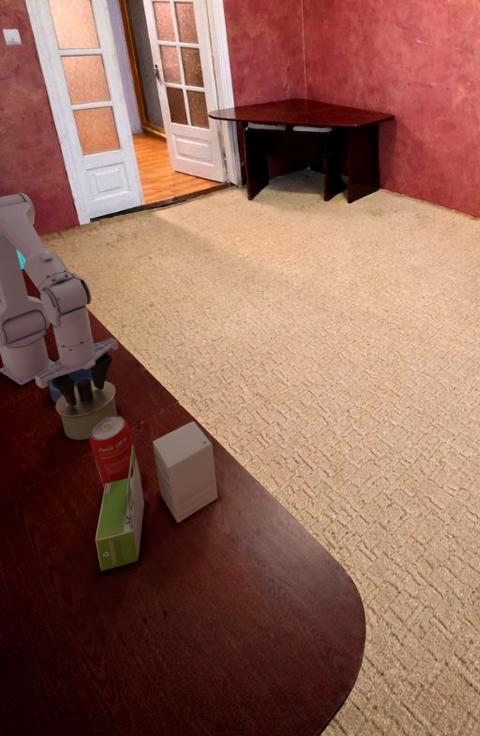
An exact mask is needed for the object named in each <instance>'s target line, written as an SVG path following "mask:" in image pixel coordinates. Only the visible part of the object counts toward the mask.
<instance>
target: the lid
mask: <svg viewBox="0 0 480 736" xmlns="http://www.w3.org/2000/svg"><path fill="white" fill-rule="evenodd" d="M116 391H117V390H116V387H115V385H114V384H113V383H111V382H109V381H106V380H105V382H104V389H102V390H100V389H98V388H96V387H95V386H94V383H93V381H90V380H89V379H84V380H81V381H79V382H78V383H77V384H76V386H75V387H74V392H75V397H76V401H77V404H76V405H75V406H71V405H70V404H68V403H67V401H66V399H65V398H64V396H63V395H62V396H61V397H60V398H59V399H58V401H57V403H56V402H55V410H56V412H57V414H58V415H59V416H60V417H61V416H63V417H67V418H79V417H84V416H88V415H91V414H93V413H96V412H98V411H100V410H101V409H103V408H104V407H106V406H107V405H108V404H109V403H110V402H111V401H112V400H113V398H114V399H115V397H116Z"/></svg>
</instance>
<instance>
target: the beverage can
mask: <svg viewBox="0 0 480 736" xmlns="http://www.w3.org/2000/svg"><path fill="white" fill-rule="evenodd" d="M88 441H89V444H90V448H91V451H92V454H93V458H94V461H95V464H96V467H97V471H98V475H99V477H100V479H101V483H102V486H103V490H104V489H105V484H106V483H110V482H115V481H119V480H123V479H128V476H129V468H130V461H131V453H132V445H133V447H134V452H135V456H136V461H137V465H138V470H139V474H140V481H141V485H142V484H143V477H142V473H141V469H140V464H139V461H138V457H137V453H136V449H135V445H134V441H133V438H132V434H131V429H130V426H129V423H128V422H127V421H126V420H125V419H124V417H123V416H120V415H117V416H109V417H106V418H103V419H101V420H100V421H98V422H97V423H96V424H95V425H94V426H93V427H92V429H91V431H90V437H89V438H88ZM132 477H133V465H132V469H131V478H132Z"/></svg>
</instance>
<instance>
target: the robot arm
mask: <svg viewBox="0 0 480 736" xmlns="http://www.w3.org/2000/svg"><path fill="white" fill-rule="evenodd" d="M35 216H36V210H35V207H34V204H33V201H32V200H31V198H30V197H29V195H27V194H26V193H24V192H17V193H16V194H15V193H14V194H10V195H5V196H0V357H1V360H2V364H3V367H1V368H0V373H2V374H3V375H5V376H6V377H8V378H9V379H10V380H12V381H14V382H15V383H17V384H18V385H20V386H23V385H25V384H27V383H30V382H32V381H33V380H35V384H36V385H37V386H38V387H39V388H41V389H44V388H46V387H49V384H48V383H50V382H51V383H52V384H53V385H55V386H56V387H57V388H58V389H59V391H60V392H61V393H62V395H63V396H64V398H65V399H66V401H67V403H68V404H70V405H71V406H75V405H76V404H77V401H76V397H75V392H74V384H75V380H73V379H71V378H70V376H69V375H67V374H68V373H71V372H73V371H76V370H79V369H89V368H90V369H91V373H92V379H93V383H94V386H95V387H96V388H98V389H100V390H102V389H104V382H105V381H106V377H107V373H108V370H109V368H110V366H111V364H112V363H113V357H112V356H111V355H110V354H108V353H109V352H111V351H113V352H114V351H116V350H118V349H119V345H118V340H117V339H114V338H112V337H110V338H108V339H105V340H103V341H100V342H96V343H94V338H93V334H92V329H91V328H92V327H91V323H90V317H89V312H88V307H87V306H88V305H90V304H92V303H91V302H92V294H91V291H90V288H89V286H88V284H87V283H86V280H85V279H84V278H83V277H82V276H80V275H78V274H77V273H76V272H71V271H70V269H69V268H68V267H67V265H66V264H65V262H64V261H63V259H62V258H61V257H60V256H59V254H58V253H57V252H56V251H54V250H48V249H47V248H46V247H45V245H44V244H43V242H42V240H41V238H40V236H39V234H38V233H37V230H36V229H35V226H34V225H35ZM18 253H19V254H20V255H21V256H22V257H23V259H24V260H25V261H24V263H23V270H24V271H25V273H26V274H27V276H28V277H29V278H30V280H31V281H32V283H33V285H34V286H35V287H36V289H37V291H38V292H39V294H40V299H39V298H38V297H36V296H30V295H29V294H28V291H27V286H26V283H25V279H24V274H23V271H22V266H21V262H20V258H19V254H18ZM50 325H52V329H53V334H54V339H55V343H56V348H57V352H58V356H59V359H57V360H56V361H53V360H51V359H50V357H49V353H48V350H47V346H46V345H47V344H46V341H45V338H44V337H45V335H47V331H46V330H49V328H50Z"/></svg>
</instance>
